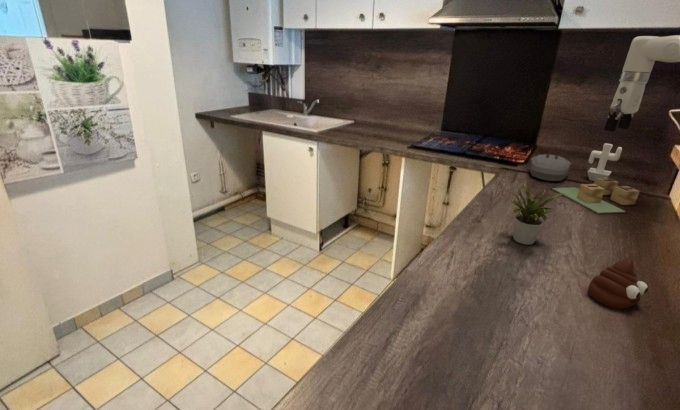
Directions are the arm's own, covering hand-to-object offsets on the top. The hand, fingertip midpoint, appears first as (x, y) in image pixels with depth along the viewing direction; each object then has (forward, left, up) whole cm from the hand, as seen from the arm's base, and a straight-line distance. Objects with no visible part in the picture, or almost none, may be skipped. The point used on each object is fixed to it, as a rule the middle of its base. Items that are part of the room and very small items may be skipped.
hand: (616, 129), depth 124 cm
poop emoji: (+46, +58, -23) cm, 78 cm away
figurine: (-11, -11, -23) cm, 28 cm away
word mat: (+10, +8, -23) cm, 26 cm away
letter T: (-1, +11, -23) cm, 25 cm away
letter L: (-2, +2, -23) cm, 23 cm away
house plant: (+51, +32, -23) cm, 65 cm away
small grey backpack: (+6, -18, -23) cm, 30 cm away
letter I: (+10, +9, -23) cm, 26 cm away
